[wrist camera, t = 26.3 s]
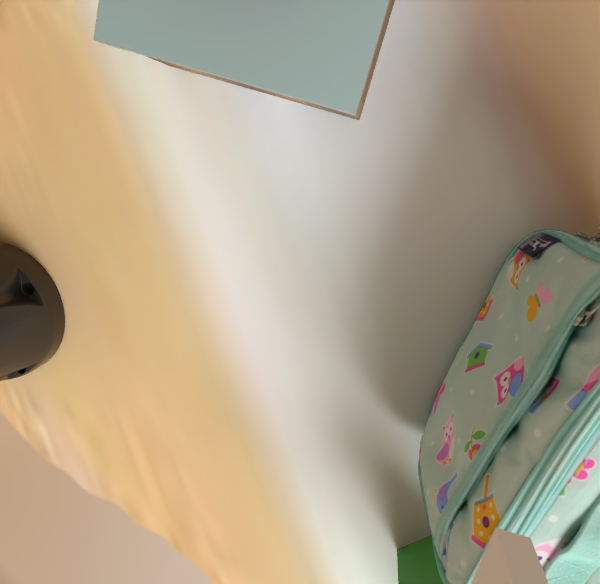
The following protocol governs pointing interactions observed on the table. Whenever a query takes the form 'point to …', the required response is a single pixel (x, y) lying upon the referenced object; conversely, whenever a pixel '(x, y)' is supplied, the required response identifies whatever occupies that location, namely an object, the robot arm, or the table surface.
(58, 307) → the robot arm
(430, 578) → the hardback book
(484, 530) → the lunch box
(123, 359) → the table surface
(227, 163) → the table surface
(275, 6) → the pale teal square panel
